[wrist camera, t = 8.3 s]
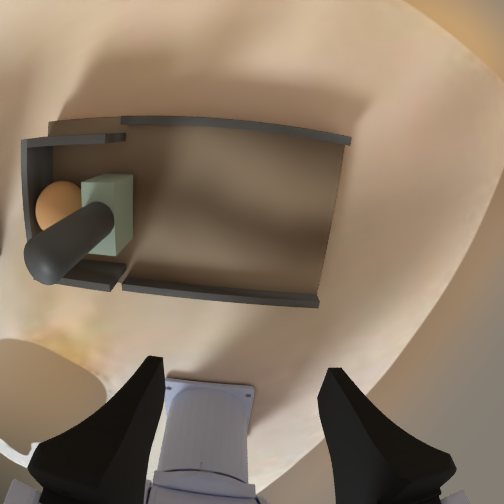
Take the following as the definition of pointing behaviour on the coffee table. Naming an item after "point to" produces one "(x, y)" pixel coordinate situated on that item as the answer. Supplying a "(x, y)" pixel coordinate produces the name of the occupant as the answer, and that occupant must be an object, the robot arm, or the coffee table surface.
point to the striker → (85, 229)
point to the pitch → (200, 204)
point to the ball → (57, 203)
